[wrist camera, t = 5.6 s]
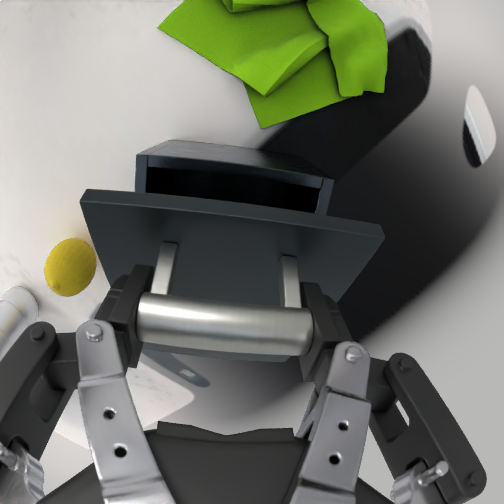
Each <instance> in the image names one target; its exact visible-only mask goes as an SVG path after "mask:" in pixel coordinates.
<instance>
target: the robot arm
mask: <svg viewBox="0 0 504 504" xmlns="http://www.w3.org/2000/svg"><path fill="white" fill-rule="evenodd" d="M153 276H154V267H153V266H149V265H141V264H136V265H135V266H134V268H133V270H132V272H131V274H130V275H125V274H123V275H121V276H120V277H119V278H117V279H116V280H115V281H114V283H113V284H112V286H111V288H110V290H109V291H108V293H107V296H106V297H105V299H104V301H103V302H102V304H101V306H100V308H99V310H98V312H97V314H96V316H95V318H94V320H89V321H87V322H85V323H83V324H82V325H81V326H79V328H78V329H77V332H73V333H56V332H55V329H54V327H53V326H52V325H51V324H49V323H47V322H36V323H33V324H31V325H29V326H28V327H27V328H26V329H25V330H24V331H23V333H22V334H21V335H20V336H19V338H18V339H17V340H16V341H15V343H14V344H13V345H12V346H11V348H10V349H9V350H8V352H7V353H6V354H5V356H4V357H3V358H2V360H1V361H0V504H463V503H465V502H467V501H469V500H471V499H473V498H475V497H476V496H478V495H479V494H481V493H482V491H483V490H484V488H485V486H486V480H487V477H486V472H485V470H484V468H483V466H482V464H481V463H480V461H479V459H478V457H477V455H476V454H475V452H474V450H473V449H472V447H471V445H470V443H469V441H468V440H467V438H466V436H465V435H464V433H463V431H462V430H461V428H460V426H459V425H458V423H457V422H456V420H455V418H454V417H453V415H452V414H451V412H450V411H449V409H448V407H447V406H446V404H445V403H444V401H443V400H442V398H441V397H440V395H439V393H438V392H437V390H436V389H435V387H434V386H433V385H432V383H431V382H430V380H429V379H428V377H427V376H426V374H425V373H424V371H423V370H422V368H421V367H420V366H419V364H418V363H417V361H416V360H415V359H414V358H412V357H411V356H409V355H407V354H405V353H395V354H393V355H392V356H391V358H390V359H389V361H385V360H380V359H375V358H371V357H370V355H369V353H368V351H367V350H366V349H365V348H364V347H363V346H362V345H360V344H358V343H356V342H353V340H352V337H351V335H350V333H349V331H348V328H347V326H346V324H345V322H344V320H343V319H342V318H343V317H342V315H341V313H339V309H338V306H337V304H336V302H335V301H334V300H333V299H332V298H331V297H329V296H328V295H323V293H322V291H321V288H320V286H319V284H318V283H313V282H300V293H301V303H302V308H308V309H309V310H310V312H311V314H312V318H313V339H312V344H311V347H310V349H309V351H308V353H307V354H306V355H298V356H299V361H300V365H301V369H302V373H303V378H304V381H305V382H309V381H310V382H312V381H314V384H315V388H314V389H313V391H312V394H311V397H310V400H309V403H308V406H307V408H306V411H305V414H304V417H303V420H302V422H301V425H300V427H299V430H298V432H297V433H296V435H295V436H294V434H293V428H276V429H257V430H253V431H248V432H243V433H238V434H233V435H222V434H219V433H215V432H212V431H208V430H205V429H201V428H198V427H195V426H192V425H185V424H176V423H169V422H162V421H158V425H157V429H152V430H146V431H143V429H142V426H141V423H140V420H139V417H138V415H137V412H136V409H135V406H134V403H133V400H132V396H131V393H130V390H129V387H128V383H127V380H126V372H127V369H128V367H131V368H137V364H138V361H139V357H140V354H141V350H142V347H143V343H144V341H140V340H139V339H138V337H137V333H136V315H137V308H138V304H139V300H140V298H141V295H142V294H143V293H144V292H150V288H151V284H152V280H153ZM75 389H78V393H79V399H80V405H81V411H82V416H83V421H84V426H85V430H86V434H87V439H88V443H89V447H90V450H91V454H92V457H93V461H94V462H93V463H92V464H90V465H89V466H88V467H86V468H85V469H84V470H82V471H81V472H79V473H78V474H77V475H75V476H74V477H73V478H71V479H70V480H68V481H67V482H65V483H64V484H62V485H61V486H59V487H58V488H56V489H55V490H54V491H52V492H50V493H49V494H48V495H46V496H45V495H44V492H43V483H44V471H43V468H42V466H41V464H40V463H39V460H40V457H41V456H42V454H43V451H44V449H45V447H46V445H47V443H48V441H49V439H50V436H51V434H52V432H53V430H54V428H55V426H56V424H57V422H58V420H59V418H60V416H61V414H62V412H63V410H64V408H65V406H66V405H67V403H68V401H69V399H70V397H71V395H72V393H73V391H74V390H75ZM398 400H399V401H400V403H401V405H402V406H403V408H404V410H405V412H406V413H407V415H408V417H409V426H408V425H407V424H406V422H405V420H404V418H403V417H402V415H401V413H400V411H399V409H398V407H397V406H396V403H397V401H398ZM368 425H369V427H370V429H371V432H372V434H373V435H374V438H375V440H376V442H377V444H378V446H379V448H380V450H381V452H382V454H383V456H384V459H385V461H386V463H387V465H388V467H389V469H390V471H391V473H392V476H393V478H394V480H395V481H394V484H393V490H392V491H391V493H390V497H391V499H392V500H394V503H393V502H392V501H390V500H389V499H388V498H386V497H385V496H383V495H382V494H381V493H379V492H378V491H377V490H375V489H374V488H372V487H371V486H370V485H368V484H367V483H366V482H364V481H363V480H362V479H360V478H359V477H358V473H359V469H360V464H361V460H362V455H363V451H364V446H365V441H366V435H367V430H368Z"/></svg>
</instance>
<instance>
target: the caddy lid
mask: <svg viewBox="0 0 504 504" xmlns="http://www.w3.org/2000/svg"><path fill="white" fill-rule="evenodd" d="M80 205H81V208H82V212H83V215H84V218H85V221H86V224H87V227H88V230H89V233H90V235H91V238H92V241H93V244H94V246H95V249H96V252H97V254H98V257H99V259H100V262H101V265H102V267H103V269H104V272H105V274H106V277H107V279H108V281H109V284H110V286H112V284H113V283H114V281H115V280H116V279H117V278H119V277H120V276H121V275H123V274H125V275H130V274H131V272H132V270H133V268H134V266H135V265H136V264H141V265H149V266H153V267H154V276H153V280H152V284H151V288H150V292H144V293H143V294H142V295H141V298H140V300H139V304H138V308H137V315H136V333H137V337H138V339H139V340H140V341H144V343H143V347H142V348H143V349H149V350H155V351H162V352H169V353H176V354H185V355H193V356H202V357H211V358H222V359H236V360H252V361H272V362H285V361H286V360H287V359H288V358H289V357H290V356H291V355H306V354H307V353H308V351H309V349H310V347H311V344H312V339H313V318H312V314H311V312H310V310H309V309H308V308H302V303H301V293H300V282H313V283H318V284H319V286H320V288H321V291H322V293H323V295H328V296H329V297H331V298H332V299H333V300H334V301H335V302H337V301H338V300H339V299H340V297H341V296H342V295H343V294H344V293H345V291H346V290H347V289H348V287H349V286H350V285H351V284H352V282H353V281H354V280H355V278H356V277H357V276H358V275H359V273H360V272H361V271H362V269H363V268H364V267H365V265H366V264H367V263H368V261H369V260H370V258H371V257H372V256H373V254H374V253H375V252H376V250H377V249H378V247H379V246H380V244H381V243H382V242H383V240H384V239H385V236H384V234H383V231H382V229H381V226H380V225H376V224H372V223H366V222H361V221H355V220H350V219H344V218H338V217H332V216H326V215H320V214H314V213H308V212H301V211H295V210H288V209H281V208H274V207H267V206H260V205H252V204H245V203H237V202H229V201H220V200H212V199H203V198H193V197H184V196H174V195H163V194H152V193H140V192H127V191H113V190H97V189H86V191H85V193H84V194H83V196H82V198H81V199H80Z"/></svg>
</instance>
